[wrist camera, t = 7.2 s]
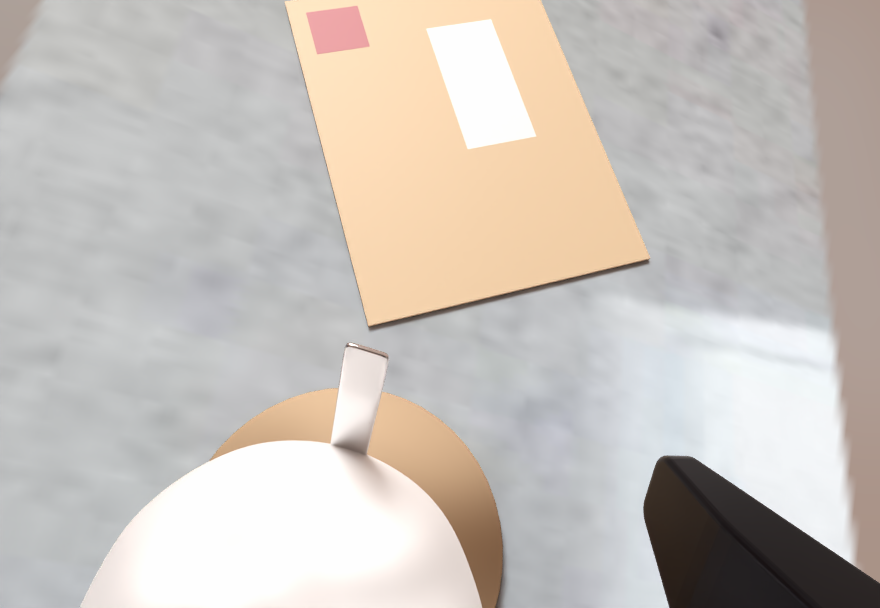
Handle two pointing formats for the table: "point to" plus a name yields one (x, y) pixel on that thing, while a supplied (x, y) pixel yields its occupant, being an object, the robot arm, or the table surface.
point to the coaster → (403, 467)
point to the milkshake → (293, 526)
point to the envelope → (457, 151)
